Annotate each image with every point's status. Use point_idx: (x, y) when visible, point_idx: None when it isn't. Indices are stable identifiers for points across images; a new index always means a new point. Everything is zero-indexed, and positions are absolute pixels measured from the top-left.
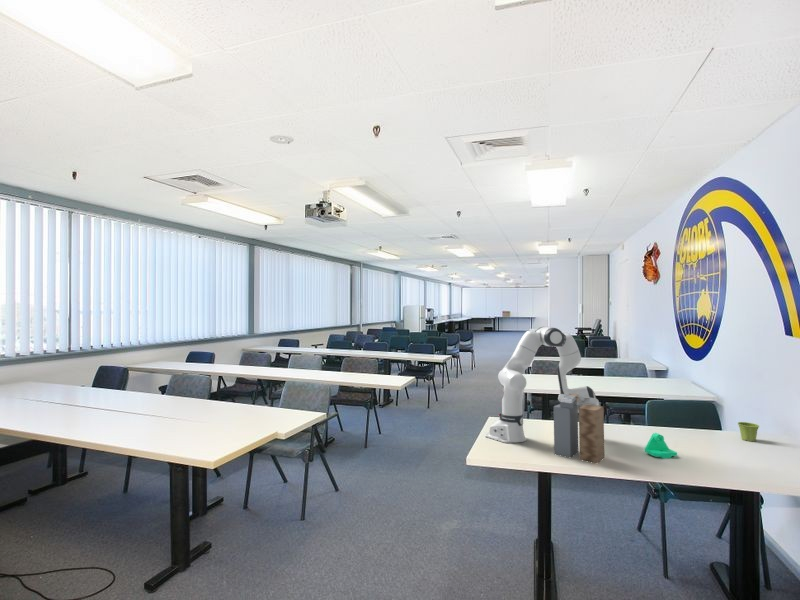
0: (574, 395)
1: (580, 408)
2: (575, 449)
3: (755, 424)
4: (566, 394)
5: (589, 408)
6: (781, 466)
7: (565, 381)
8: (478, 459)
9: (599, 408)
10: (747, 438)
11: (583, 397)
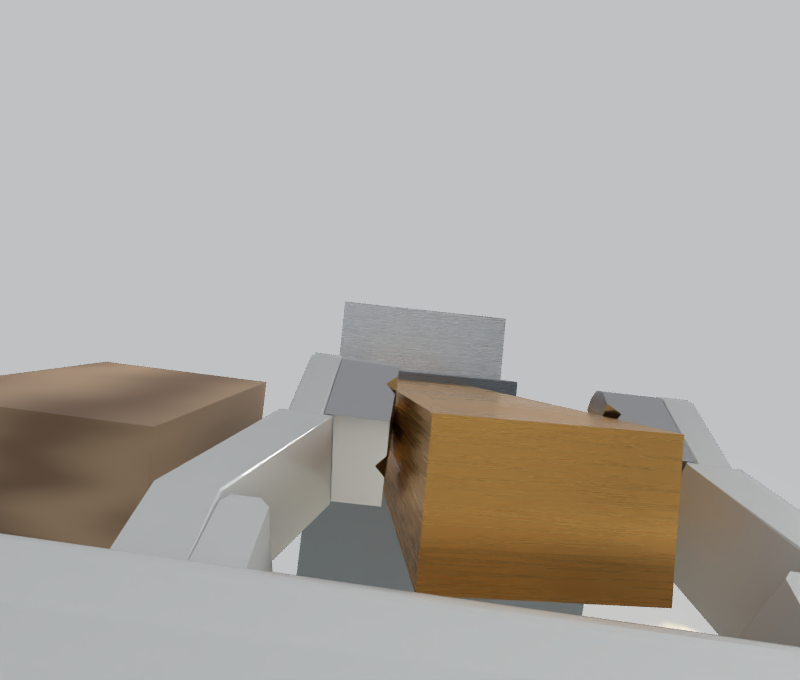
0: (359, 304)
1: (249, 381)
2: None
3: None
4: (481, 316)
5: (156, 376)
6: None
7: None
8: (668, 624)
9: (25, 373)
10: None
11: (178, 483)
